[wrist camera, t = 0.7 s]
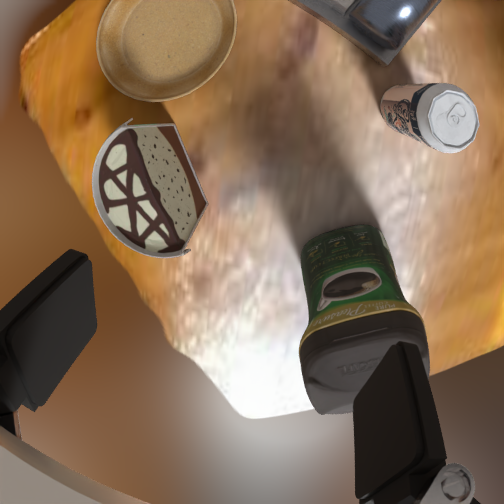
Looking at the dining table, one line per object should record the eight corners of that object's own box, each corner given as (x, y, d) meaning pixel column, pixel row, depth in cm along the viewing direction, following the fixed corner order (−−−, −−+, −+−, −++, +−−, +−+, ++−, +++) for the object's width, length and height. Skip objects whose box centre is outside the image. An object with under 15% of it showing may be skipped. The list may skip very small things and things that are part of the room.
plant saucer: (263, 69, 27) (259, 66, 25) (133, 122, 31) (121, 125, 29) (214, -48, 21) (207, -57, 19) (95, 14, 26) (81, 11, 23)
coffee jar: (313, 296, 38) (311, 435, 21) (293, 238, 35) (280, 371, 18) (393, 276, 35) (437, 408, 19) (380, 213, 32) (441, 333, 16)
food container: (122, 133, 32) (66, 153, 23) (169, 110, 30) (119, 120, 21) (166, 231, 37) (126, 277, 28) (213, 216, 35) (183, 261, 26)
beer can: (369, 110, 27) (407, 121, 17) (397, 75, 25) (448, 67, 15) (406, 142, 28) (457, 171, 18) (432, 107, 26) (495, 120, 15)
